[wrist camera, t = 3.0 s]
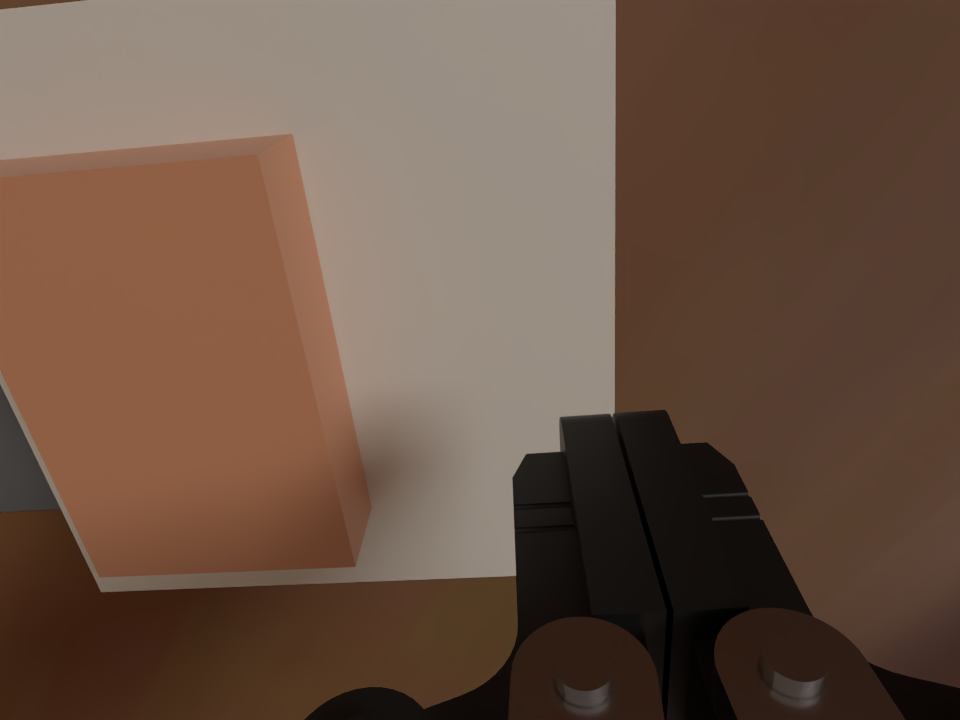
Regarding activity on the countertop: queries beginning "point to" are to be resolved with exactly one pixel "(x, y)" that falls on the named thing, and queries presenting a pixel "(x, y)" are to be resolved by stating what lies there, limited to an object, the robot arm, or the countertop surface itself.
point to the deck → (385, 221)
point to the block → (180, 357)
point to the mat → (20, 468)
